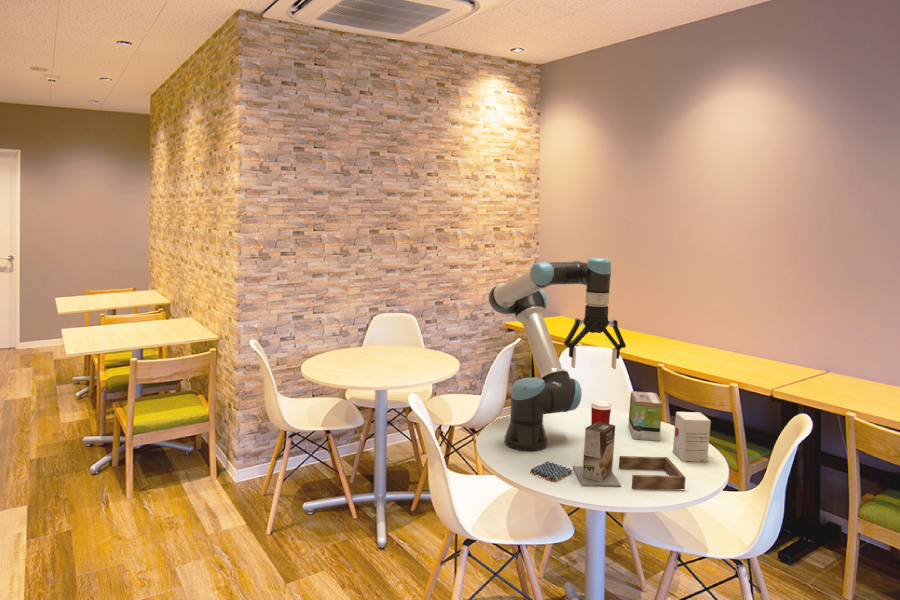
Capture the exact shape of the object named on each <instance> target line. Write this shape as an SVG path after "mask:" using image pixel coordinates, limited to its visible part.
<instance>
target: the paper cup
mask: <svg viewBox="0 0 900 600" xmlns="http://www.w3.org/2000/svg"><path fill="white" fill-rule="evenodd" d="M589 406H590V409H591V411H590V413H591V416H590V417H591V420H590V421H591V422H590V423H591V424H590V425H592V424H594V423H596V422H601V423H607V424H610V421H611V420H610V419H611V418H610V417H611V413H612V412H611V411H612V408H613V407H612V404H611V403H610V402H609V401H605V400H593V401H592V402H591V403H590V405H589Z"/></svg>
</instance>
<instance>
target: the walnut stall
mask: <svg viewBox="0 0 900 600" xmlns="http://www.w3.org/2000/svg"><path fill="white" fill-rule="evenodd" d="M618 459H619V460H618V469H619V470H640V471H641V470H642V471H644V470H645V471H664V472H665V473H666V474H667V475H656V474H655V475H654V474H650V475H649V474H632V477H631V478H632V479H631V488H632V490H659V489H685V488H686V479H687V478H686V476H685V475H684V474H683V473H682V472H681V471H680V470H679V469H678V467H676V465H675V464H674V463H673V462H672V460H671V459H670V458H668V457H667V456H638V455H637V456H633V455H631V456H629V455H619V457H618ZM668 475H669V476H668Z"/></svg>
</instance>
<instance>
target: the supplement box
mask: <svg viewBox="0 0 900 600" xmlns="http://www.w3.org/2000/svg"><path fill="white" fill-rule="evenodd" d="M674 421H675V422H674V432H673V433H674V435H673V448H672V453H673V452H674V453H675V454H676V455H677V456H678V457H679V458H680V459H681V460H682V461H703V462H702V463H707V462H708V456H709V455H708V453H709V446H710V445H709V442H710V433H711V423H712V422H711V421H712V420H710V419H709V418H708V417H707V416H706V415H704V414H703V413H701V412H698V411H696V412H694V411H693V412H692V411H691V412H690V411H676V412H675V420H674ZM674 453H673V454H674ZM675 454H674V455H675ZM676 455H675V456H676ZM677 456H676V457H677ZM678 457H677V458H678ZM679 458H678V459H679ZM680 459H679V460H680ZM681 460H680V461H681ZM682 461H681V462H682ZM706 461H707V462H706Z"/></svg>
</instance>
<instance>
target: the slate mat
mask: <svg viewBox="0 0 900 600" xmlns="http://www.w3.org/2000/svg"><path fill="white" fill-rule="evenodd" d="M572 470H573V471H574V473H575V475H576V478H577V480H578V482H579V483H580V485H581V487H599V488H600V487H603V488H604V487H606V488H607V487H608V488H609V487H610V488H621V487H622V486H621V483H620V482H619V480H618V478H617V477H616V475H615V473H614V472H613V471H612V474H610V475H609V476H608V477H606V478H605V479H604V480H602V481H601V482H598V481H595V480H592V479H588V478H585V477H582V475H583V465H579V466H578V465H572Z"/></svg>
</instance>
